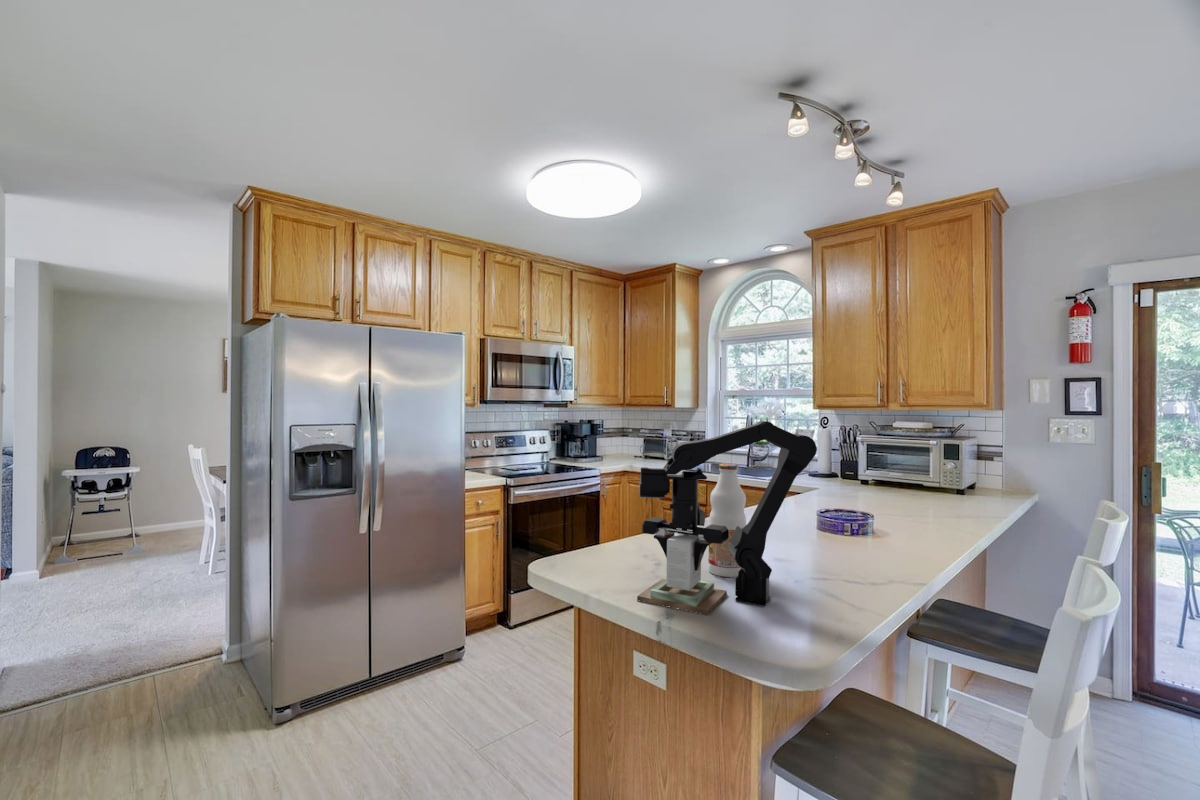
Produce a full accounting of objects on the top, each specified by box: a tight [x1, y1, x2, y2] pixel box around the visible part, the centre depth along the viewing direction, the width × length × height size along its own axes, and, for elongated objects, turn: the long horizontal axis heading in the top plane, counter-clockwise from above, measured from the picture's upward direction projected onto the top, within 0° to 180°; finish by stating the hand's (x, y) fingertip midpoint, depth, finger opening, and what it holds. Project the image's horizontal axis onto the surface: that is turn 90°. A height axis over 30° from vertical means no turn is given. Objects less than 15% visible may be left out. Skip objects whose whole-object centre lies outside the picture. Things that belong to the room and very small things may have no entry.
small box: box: [666, 533, 702, 590], centre depth 125 cm, size 8×6×10 cm
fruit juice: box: [707, 463, 747, 578], centre depth 144 cm, size 9×9×28 cm
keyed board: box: [636, 578, 728, 616], centre depth 125 cm, size 16×14×2 cm
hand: (683, 568), depth 125 cm, fingers closed on small box, 6 cm apart
